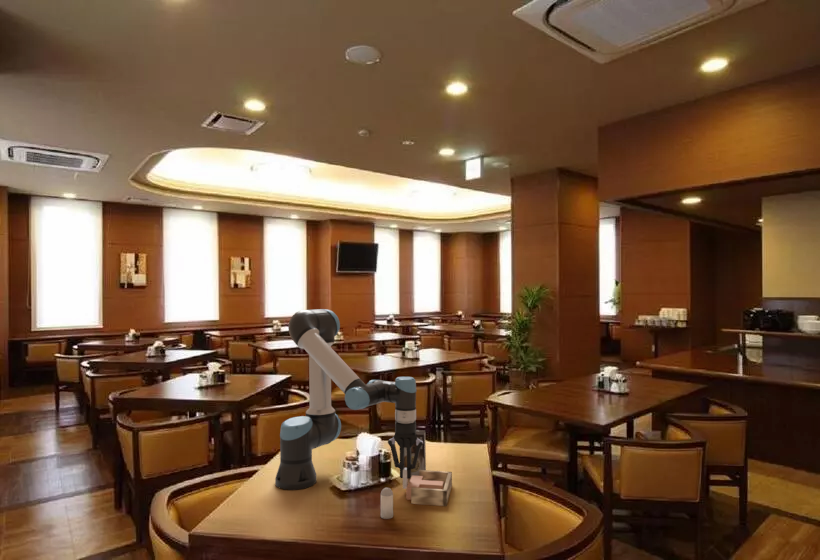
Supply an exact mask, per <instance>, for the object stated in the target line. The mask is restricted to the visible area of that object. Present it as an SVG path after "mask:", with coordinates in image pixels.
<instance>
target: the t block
mask: <svg viewBox="0 0 820 560" xmlns="http://www.w3.org/2000/svg"><path fill="white" fill-rule="evenodd" d="M412 487H415V488H430V489H444V486H443V481H429V480H423V476H419V475H411V477H410V479H409V480H408V485H407V487H406V489H405V490H406V492H405V493H406V496H405V500H410V501H411V488H412Z"/></svg>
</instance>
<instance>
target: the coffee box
mask: <svg viewBox="0 0 820 560" xmlns="http://www.w3.org/2000/svg"><path fill="white" fill-rule="evenodd" d="M416 434H417V437H418V439H420V440H423V444H422V446H421V447H420V451H419V456H418V460H417V464H416V467H415V468H414V469H411V476H412V475H415V476H419V471H420V470H427V466H426V465H427V463H426V461H427V460H426V457H427V455H426V450H427V449H426V430H424V429H416ZM416 448H417V445H416V441H415V443H414V444H413V445H412V448H411V464H413V460H414V456H415V451H416ZM404 465H405V466H404V468H407V448H406V447H405V448H404Z"/></svg>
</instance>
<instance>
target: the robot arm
mask: <svg viewBox="0 0 820 560" xmlns="http://www.w3.org/2000/svg"><path fill="white" fill-rule="evenodd" d="M340 329H341V322H340V319H339V317H338V315H337V314H336V313H335V312H334V311H333V310H331V309H325V308H320V309H319V308H318V309H317V308H316V309H301V310H299V311H296V312H295V313H294V314H292V316H291V317H290V320H289V321H288V333H289V336H290V338H291V339H292V341H293V342H294V343H295V345H296V346H297V348H299V349H302V350H305V352H306V353H307V355H308V359H309V360H308V367H309V368H308V370H309V371H308V372H309V374H308V375H309V378H308V379H309V380H308V381H309V407H308V409H307V410H305V416H304V415H301V416H300V415H299V416H293V417H290V418H288V419H285V420H284V421H282V423H281V425H280V433H279V438H280V440H279V441H280V442H279V445H280V451H279V454H280V455H279V457H280V463H279V466H278V468H277V472H276V475H275V479H274V480H275V481H274V483H275V484H276V485H275V484H274V485H275V486H276V488H278V487H280V488H279V489H281V488H283V489H282V490H286V489H288V490H287V491H294V490H296V491H297V490H303V489H307V488H309V487H312V486H314V485H315V484H316V483H317V473H316V469H315V466H314V463H313V450H314V449H317V448H320V447H322V446H325V445H329V444H330V443H332V442H333V441H335V440H337V438H338V437H339V436H340V433H341V430H342V423H341V419H340V418H339V416H338V414H336V409H335V408H334V407H333V406H332V382H333V383H335V386H337V387H338V388H339V390H340V391H341V392H342V393H343V394H344V401H345V405H346V406H347V407H348V408H349V409H350V410H354V411H357V410H362V409H366V408H367V407H371V406H373V405H377V404H381V403H392V404H394V407H395V410H394V411H395V412H394V419H395V422H394V423H395V424H394V427H395V428H394V434H393V437H392V438H389V439H388V440H387V444H388V445H389V447H390V451H391V455H392V460H393V464H394V467H395V468H397V469H399V478H400V479H402V489H405V490H406V487H407V485H408V483H409V480H410V479H411V477H412V475H411V469H414V468H415V467H416V464H417V460H418V456H419V451H420V447H421V446H422V444H423V440H420V439H418V437H417V434H416V430H417V422H416V420H417V391H418V390H417V383H416V382H417V381H416V379H415V378H414V377H412V376H397V377H396V378H395V380H394V381H388V380H381V379H371V380H369V381H368V382H367V383H365V382H364V381H363V380H362V379H361V378H360V377H359V376H358V375H357V374H356V372H354V370H353V369H352V368H350V366H349V365H348V364H347V363H346V362H345V361H344V360H343V359H342V358H341V356H340V355H339V354H338V353H337V352H336V351H335V350H334V349H333V348H332V346H333V345H334V343H335V337H336V335H338V333H339V332H340ZM415 441H416V445H417V448H416V451H415V456H414V460H413V464H411V448H412V445H413V444H414V443H415ZM396 444H397V445H398V446H399V454H398V451H397V448H396V447H397V446H396ZM405 447H406V448H407V468H404V466H405V465H404V448H405ZM398 455H399V456H398Z"/></svg>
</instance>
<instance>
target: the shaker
mask: <svg viewBox="0 0 820 560" xmlns="http://www.w3.org/2000/svg"><path fill="white" fill-rule="evenodd" d="M393 517H394V492H393V490H392V489H391V488H390V487H384V488H383V489H382V490H381V492H380V518H381V519H384V520H391V519H392V518H393Z"/></svg>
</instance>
